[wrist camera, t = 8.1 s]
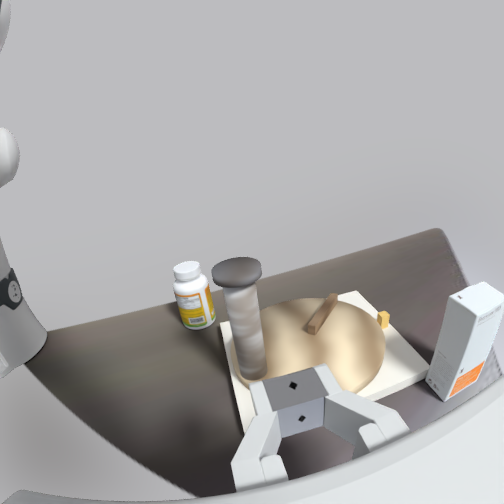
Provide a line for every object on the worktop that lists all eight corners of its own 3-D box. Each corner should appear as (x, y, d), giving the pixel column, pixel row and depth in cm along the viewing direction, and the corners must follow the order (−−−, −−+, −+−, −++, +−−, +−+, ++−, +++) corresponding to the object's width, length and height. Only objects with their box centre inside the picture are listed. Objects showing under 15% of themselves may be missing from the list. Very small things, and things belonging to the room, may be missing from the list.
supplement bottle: (201, 307, 52) (189, 256, 48) (223, 317, 48) (211, 262, 45) (177, 323, 48) (161, 269, 45) (197, 335, 45) (182, 278, 41)
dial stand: (246, 440, 27) (241, 421, 26) (221, 331, 45) (217, 311, 44) (428, 376, 30) (435, 354, 28) (356, 298, 48) (356, 279, 47)
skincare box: (444, 404, 25) (476, 316, 21) (423, 381, 29) (446, 295, 25) (478, 381, 26) (509, 296, 22) (458, 362, 30) (482, 278, 26)
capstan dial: (247, 427, 27) (219, 310, 21) (223, 323, 44) (203, 230, 39) (413, 372, 29) (436, 256, 24) (344, 295, 47) (342, 205, 41)
